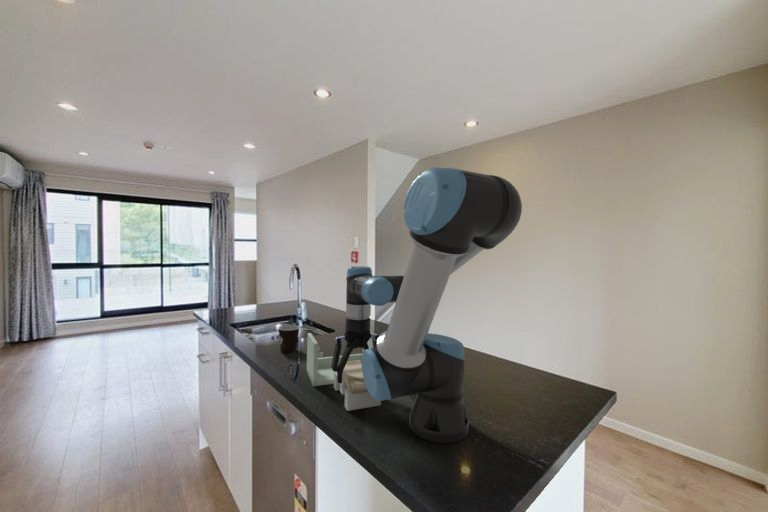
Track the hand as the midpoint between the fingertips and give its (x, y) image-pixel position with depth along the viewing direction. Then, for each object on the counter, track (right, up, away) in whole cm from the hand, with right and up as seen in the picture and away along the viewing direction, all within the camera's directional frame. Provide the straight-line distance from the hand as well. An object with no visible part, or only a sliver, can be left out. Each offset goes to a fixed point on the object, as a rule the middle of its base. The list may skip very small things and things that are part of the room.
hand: (356, 390), depth 98 cm
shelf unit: (-7, -1, +16) cm, 17 cm away
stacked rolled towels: (0, +3, 0) cm, 3 cm away
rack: (0, -2, 0) cm, 2 cm away
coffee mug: (-32, 0, +38) cm, 49 cm away
